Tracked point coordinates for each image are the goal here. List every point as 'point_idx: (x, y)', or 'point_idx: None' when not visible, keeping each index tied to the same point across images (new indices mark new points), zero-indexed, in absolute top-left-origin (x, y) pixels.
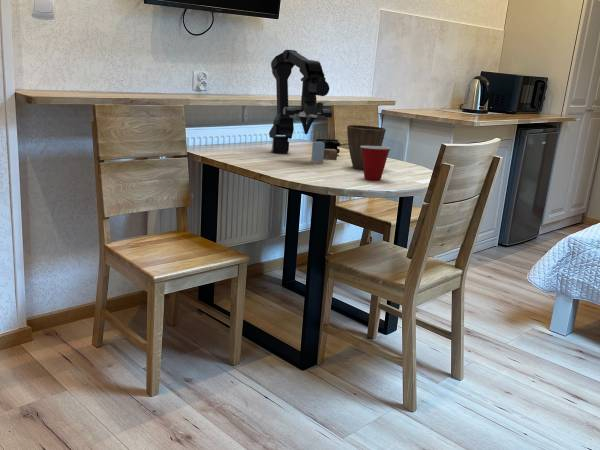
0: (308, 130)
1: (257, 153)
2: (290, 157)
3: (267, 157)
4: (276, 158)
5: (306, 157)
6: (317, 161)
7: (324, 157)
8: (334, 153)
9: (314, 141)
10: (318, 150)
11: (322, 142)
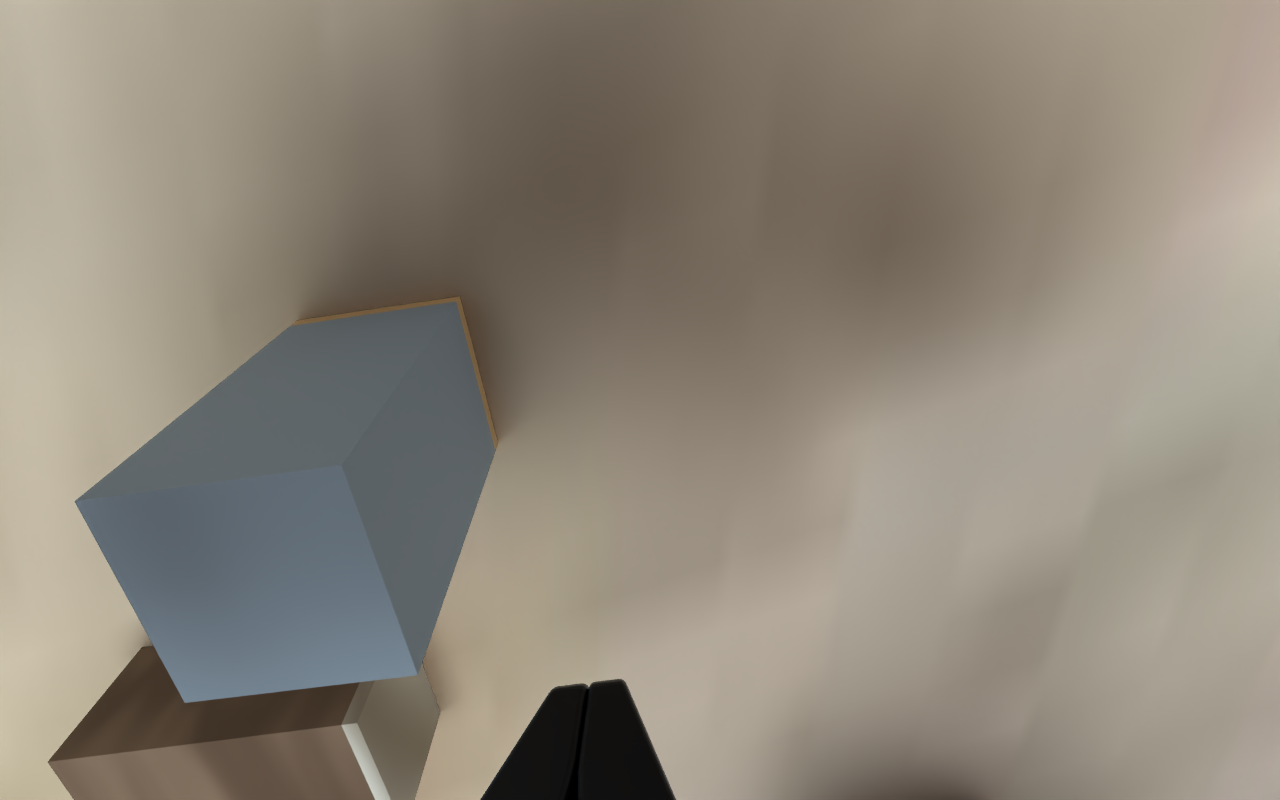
0: (495, 788)
1: (1217, 731)
2: (797, 616)
3: (1162, 497)
4: (1035, 465)
5: None
6: (384, 315)
7: None
8: (121, 716)
9: (376, 675)
10: (307, 393)
11: (162, 611)
